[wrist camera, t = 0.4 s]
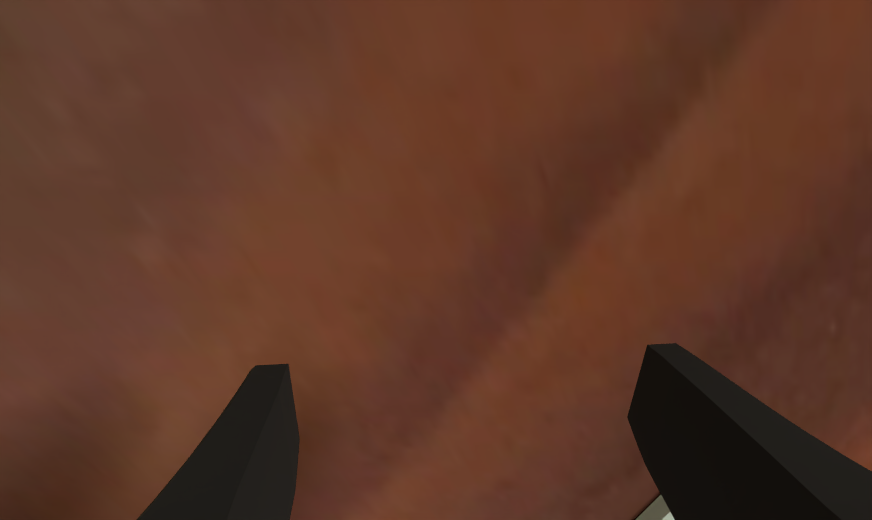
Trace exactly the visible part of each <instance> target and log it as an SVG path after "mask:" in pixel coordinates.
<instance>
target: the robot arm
mask: <svg viewBox="0 0 872 520" xmlns="http://www.w3.org/2000/svg"><path fill="white" fill-rule="evenodd" d="M628 420H629V423H630V426H631V429H632V431H633V434H634V437H635V440H636V442H637V445H638V447H639V450H640V452H641V455H642V457H643V460H644V462H645V465H646V467H647V469H648V470H649V472H650V474H651V476H652V478H653V480H654V482H655V484H656V486H657V488H658V490H659V491H660V493H661V495H662V497H663V499H664V501H665V503H666V505H667V506H668V508H669V510H670V512H671V514H672V516H673V518H674V519H675V520H872V471H870V470H868V469H866V468H864V467H863V466H861V465H859V464H858V463H856V462H854V461H853V460H851V459H849V458H847V457H846V456H844V455H842V454H841V453H839V452H838V451H836V450H834V449H833V448H831V447H830V446H828V445H826V444H825V443H823V442H822V441H820V440H818V439H817V438H815V437H814V436H812V435H810V434H809V433H807V432H806V431H804V430H803V429H801V428H800V427H798V426H796V425H795V424H793V423H792V422H790V421H789V420H787V419H786V418H784V417H783V416H781V415H780V414H778V413H777V412H775V411H774V410H772V409H771V408H769V407H768V406H767V405H765V404H764V403H762V402H761V401H759V400H758V399H756V398H755V397H753V396H752V395H751V394H749V393H748V392H746V391H745V390H743V389H742V388H741V387H739V386H738V385H736V384H735V383H733V382H732V381H731V380H729V379H728V378H726V377H725V376H723V375H722V374H721V373H719V372H718V371H716V370H715V369H713V368H712V367H711V366H709V365H708V364H706V363H705V362H703V361H702V360H701V359H699V358H698V357H696V356H695V355H693V354H692V353H690V352H689V351H687V350H686V349H684V348H682V347H681V346H679V345H678V344H676V343H673V344H654V345H647V348H646V352H645V355H644V359H643V362H642V366H641V370H640V373H639V377H638V381H637V384H636V388H635V391H634V395H633V399H632V402H631V406H630V409H629V413H628ZM299 440H300V439H299V432H298V425H297V419H296V412H295V405H294V398H293V392H292V385H291V378H290V372H289V365H288V364H276V365H257V366H255V367H254V368H253V369H252V370H251V371H250V372H249V374H248V375H247V377H246V378H245V380H244V381H243V383H242V384H241V386H240V387H239V389H238V391H237V392H236V394H235V395H234V396H233V398H232V399H231V401H230V402H229V404H228V405H227V407H226V408H225V410H224V411H223V412H222V414H221V415H220V417H219V418H218V419H217V421H216V422H215V424H214V425H213V426H212V428H211V429H210V430H209V432H208V433H207V434H206V436H205V437H204V438H203V440H202V441H201V442H200V444H199V445H198V446H197V448H196V449H195V450H194V452H193V453H192V454H191V456H190V457H189V458H188V459H187V461H186V462H185V463H184V464H183V466H182V467H181V468H180V469H179V470H178V472H177V473H176V474H175V475H174V477H173V478H172V479H171V480H170V481H169V483H168V484H167V485H166V486H165V487H164V489H163V490H162V491H161V492H160V493H159V495H158V496H157V497H156V498H155V499H154V501H153V502H152V503H151V504H150V505H149V506H148V507H147V509H146V510H145V511H144V512H143V513H142V514H141V515H140V516H139V518H138V519H137V520H290V515H291V510H292V505H293V499H294V494H295V487H296V476H297V465H298V453H299Z"/></svg>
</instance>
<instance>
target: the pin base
mask: <svg viewBox="0 0 872 520" xmlns="http://www.w3.org/2000/svg"><path fill="white" fill-rule="evenodd" d="M636 520H675V519H674V518H673V516H672V514H671V512H670V510H669V508H668V506H667V505H666V503H665V501H664V499H663V497H662V495H660V496H659V497H658V498H657V499H656V500H655V501H654V502H653V503H652V504H651V505H650V506H649V507H648V508H647V509H646V510H645V511H644V512H643V513H642V514H641V515H640V516H639V517H638V518H637V519H636Z"/></svg>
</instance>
